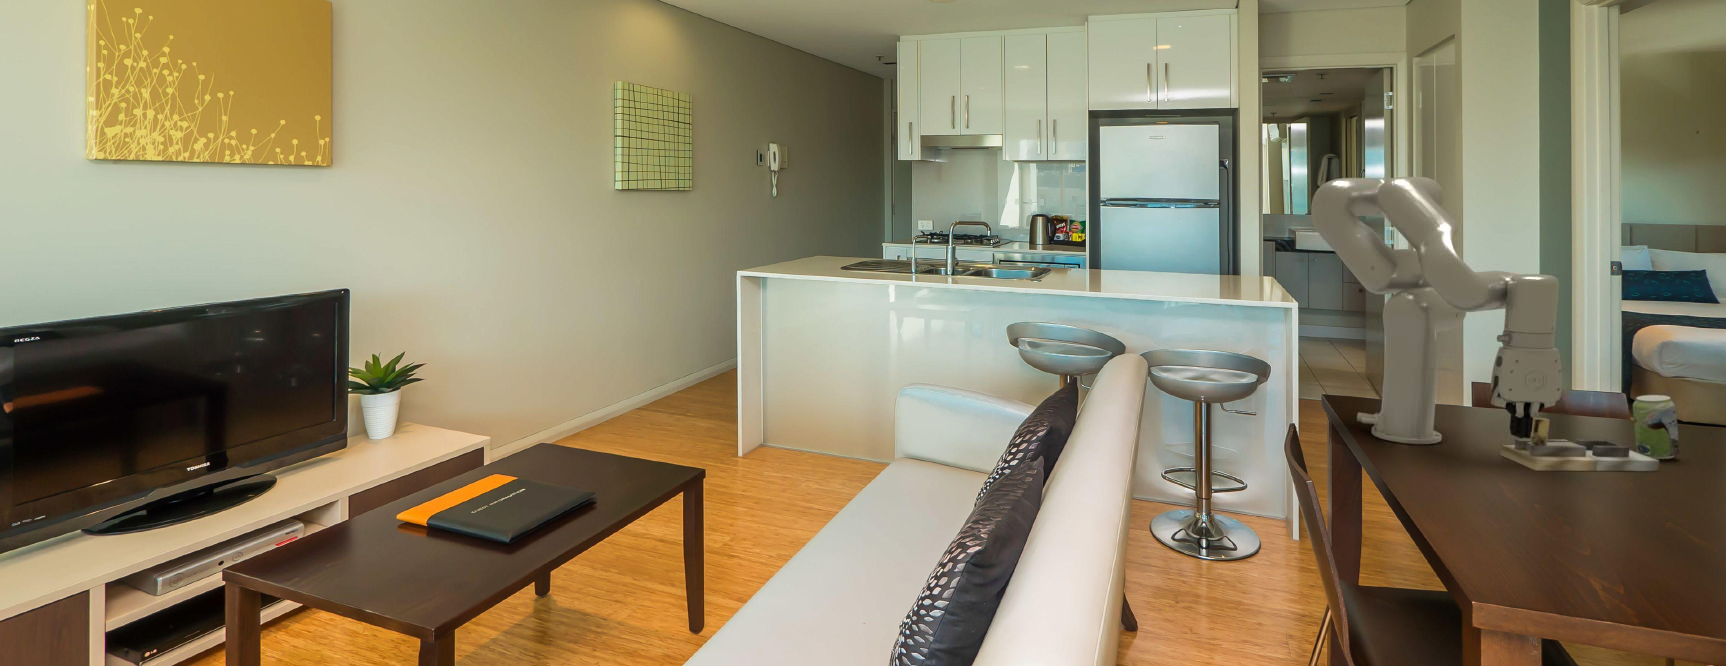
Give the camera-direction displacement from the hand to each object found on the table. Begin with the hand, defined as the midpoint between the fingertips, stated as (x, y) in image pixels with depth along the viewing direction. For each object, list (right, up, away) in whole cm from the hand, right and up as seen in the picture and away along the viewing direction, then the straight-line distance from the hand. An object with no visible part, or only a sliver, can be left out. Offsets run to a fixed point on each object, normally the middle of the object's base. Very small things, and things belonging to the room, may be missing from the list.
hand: (1520, 436), depth 162 cm
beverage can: (+28, -5, +3) cm, 28 cm away
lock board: (+11, -5, 0) cm, 12 cm away
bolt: (+6, -3, 0) cm, 7 cm away
